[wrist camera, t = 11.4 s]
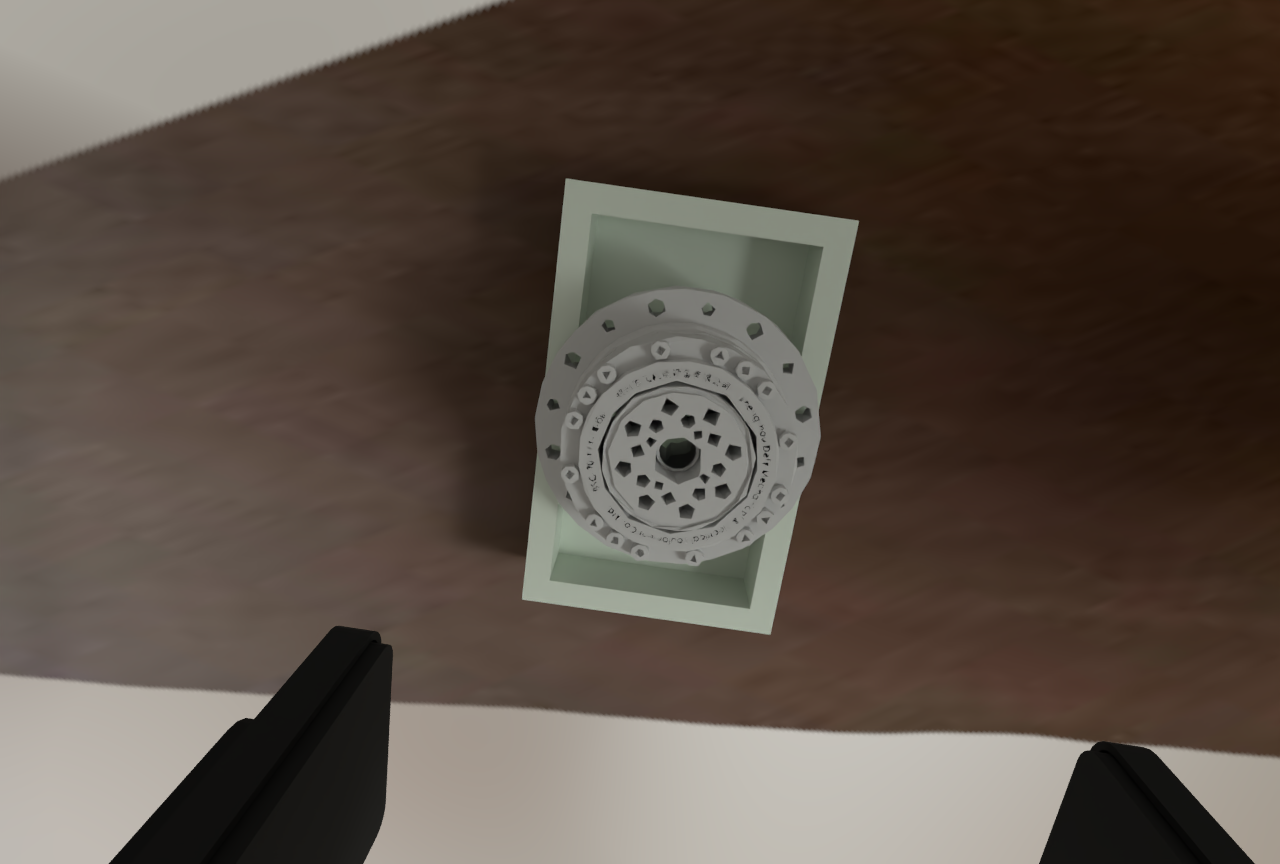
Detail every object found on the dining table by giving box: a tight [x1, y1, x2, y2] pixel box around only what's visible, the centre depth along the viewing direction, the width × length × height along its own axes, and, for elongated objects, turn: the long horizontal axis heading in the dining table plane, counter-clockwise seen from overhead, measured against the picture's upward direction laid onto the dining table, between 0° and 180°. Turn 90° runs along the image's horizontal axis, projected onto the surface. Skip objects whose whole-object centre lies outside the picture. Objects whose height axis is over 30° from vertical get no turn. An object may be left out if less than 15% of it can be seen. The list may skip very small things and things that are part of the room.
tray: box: [522, 179, 859, 635], centre depth 28 cm, size 10×16×4 cm, turn 172°
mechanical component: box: [535, 286, 821, 566], centre depth 25 cm, size 10×4×10 cm
